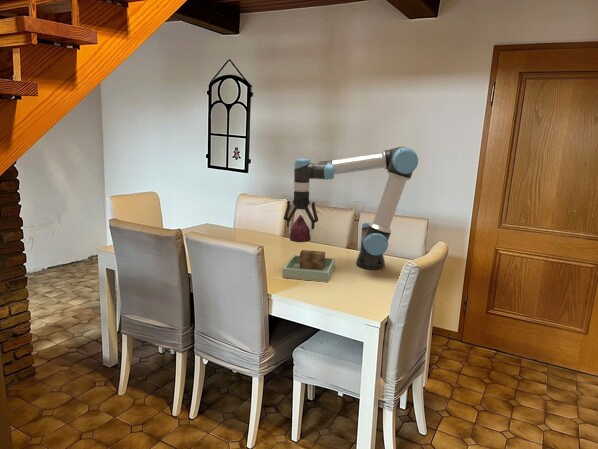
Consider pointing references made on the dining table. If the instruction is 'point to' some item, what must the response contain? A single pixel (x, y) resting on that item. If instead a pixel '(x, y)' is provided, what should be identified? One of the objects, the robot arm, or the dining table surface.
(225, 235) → the dining table surface
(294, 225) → the vegetable
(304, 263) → the walnut block
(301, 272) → the tray
